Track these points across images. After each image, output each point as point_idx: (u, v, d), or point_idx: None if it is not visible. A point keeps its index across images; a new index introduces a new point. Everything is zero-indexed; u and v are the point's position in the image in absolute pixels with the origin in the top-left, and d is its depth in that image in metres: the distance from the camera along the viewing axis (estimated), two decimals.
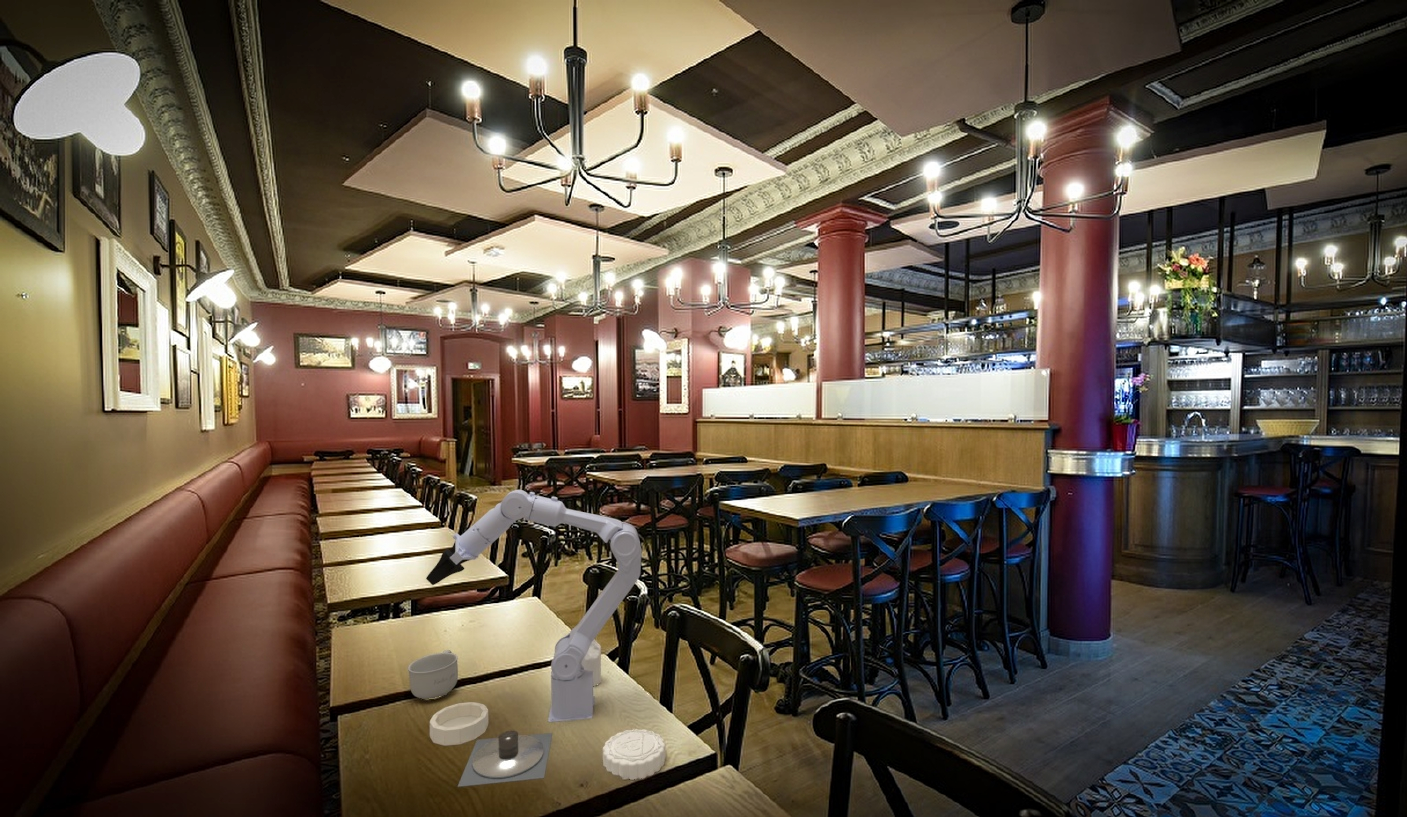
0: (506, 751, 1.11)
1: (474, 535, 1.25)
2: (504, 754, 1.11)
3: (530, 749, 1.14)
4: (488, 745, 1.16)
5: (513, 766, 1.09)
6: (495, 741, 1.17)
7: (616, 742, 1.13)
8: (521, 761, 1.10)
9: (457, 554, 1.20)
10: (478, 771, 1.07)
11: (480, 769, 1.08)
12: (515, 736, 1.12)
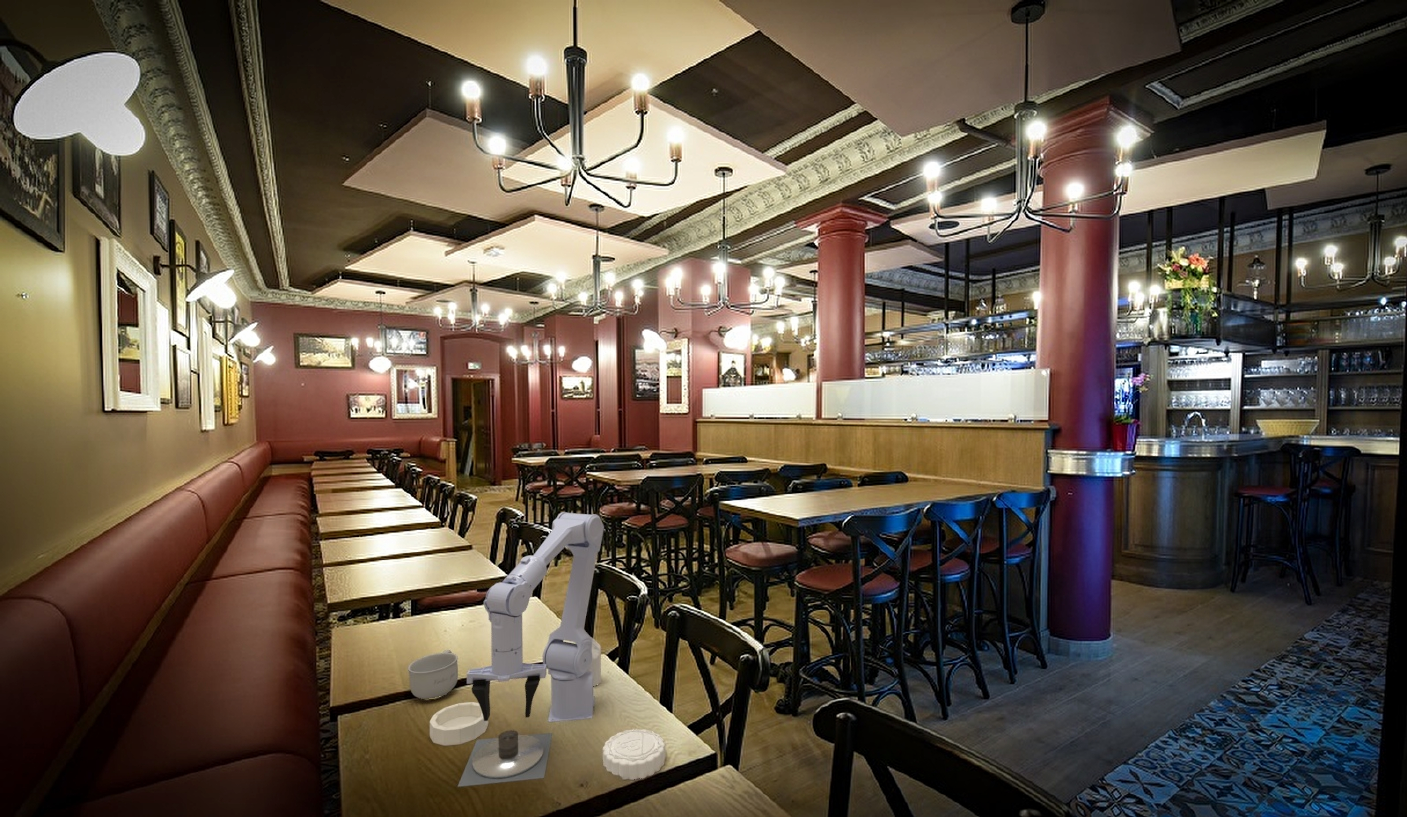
0: (506, 750, 1.11)
1: (520, 652, 1.12)
2: (504, 754, 1.11)
3: (530, 749, 1.14)
4: (488, 745, 1.16)
5: (513, 766, 1.09)
6: (495, 741, 1.17)
7: (616, 742, 1.13)
8: (521, 761, 1.10)
9: (545, 668, 1.13)
10: (478, 771, 1.07)
11: (480, 769, 1.08)
12: (515, 736, 1.12)
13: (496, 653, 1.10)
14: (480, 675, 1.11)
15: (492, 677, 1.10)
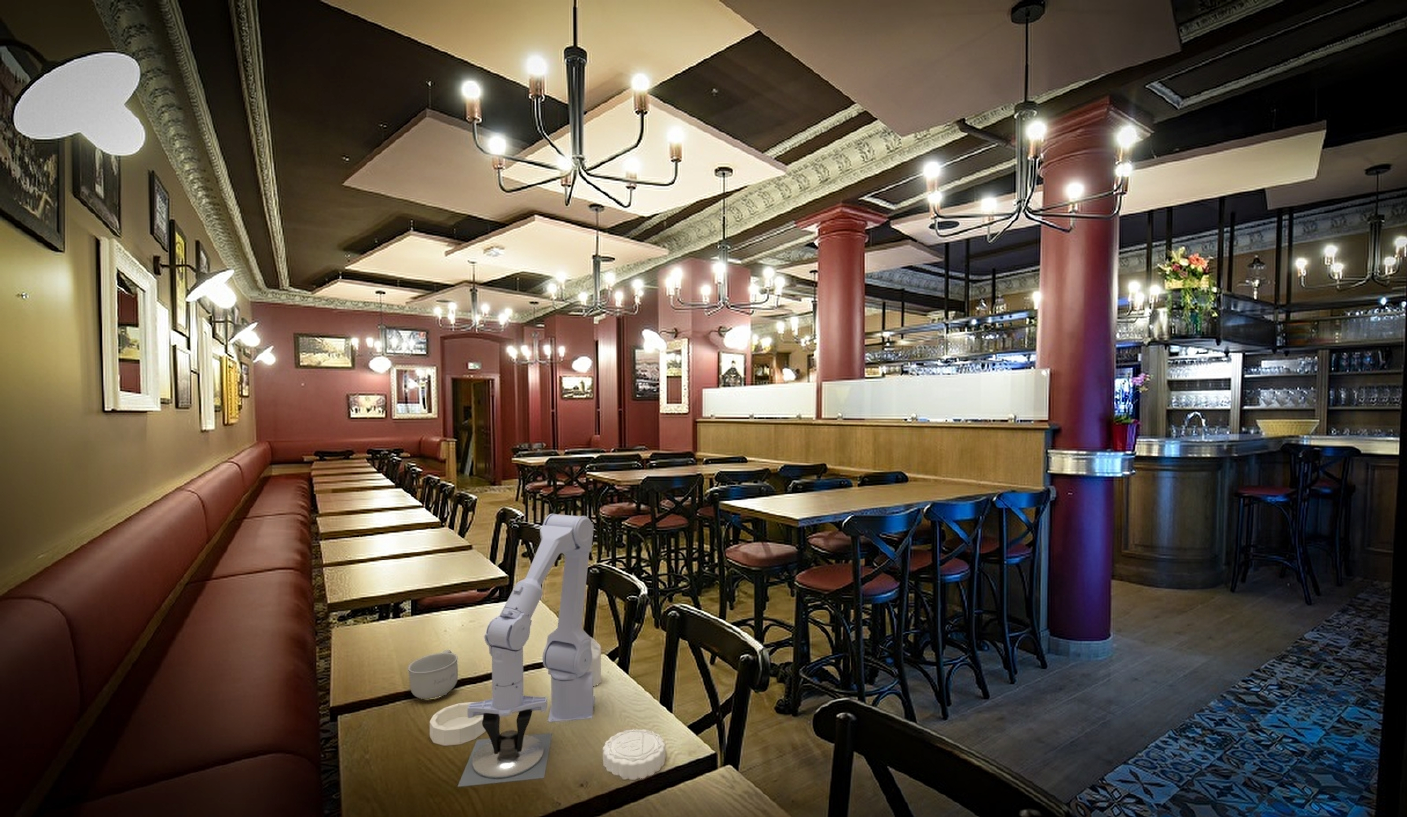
0: (506, 750, 1.11)
1: (521, 686, 1.12)
2: (504, 754, 1.11)
3: (530, 749, 1.14)
4: (488, 745, 1.16)
5: (513, 766, 1.09)
6: None
7: (616, 742, 1.13)
8: (521, 761, 1.10)
9: (546, 702, 1.13)
10: (478, 771, 1.07)
11: (480, 769, 1.08)
12: (515, 736, 1.13)
13: (497, 687, 1.10)
14: (481, 709, 1.11)
15: (493, 711, 1.10)
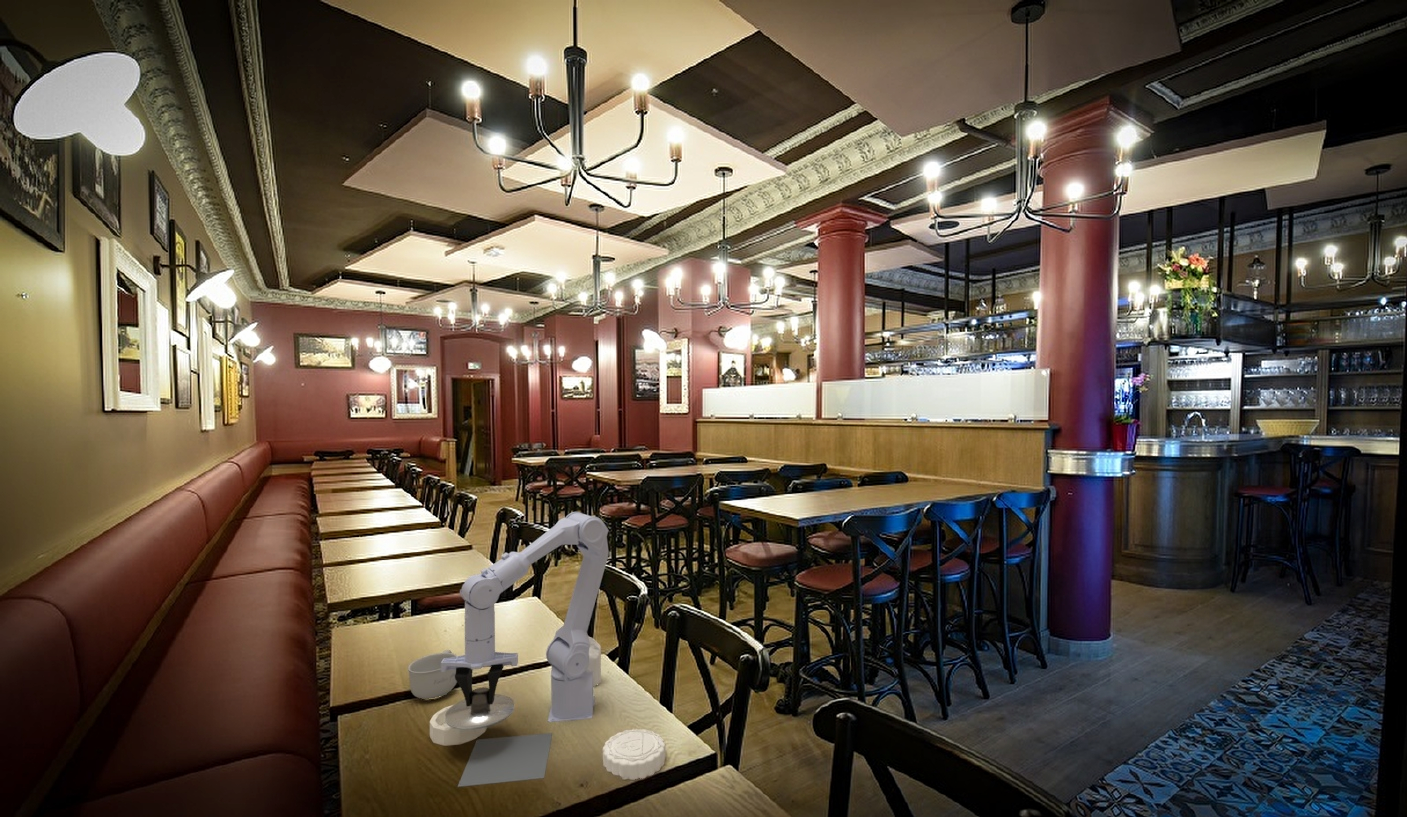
0: (479, 705, 1.16)
1: (492, 641, 1.18)
2: (476, 708, 1.16)
3: (501, 704, 1.20)
4: (460, 703, 1.20)
5: (485, 718, 1.14)
6: None
7: (616, 742, 1.13)
8: (493, 714, 1.16)
9: (516, 657, 1.19)
10: (452, 723, 1.12)
11: (453, 722, 1.13)
12: (487, 691, 1.18)
13: (469, 642, 1.16)
14: (454, 663, 1.16)
15: (465, 665, 1.15)
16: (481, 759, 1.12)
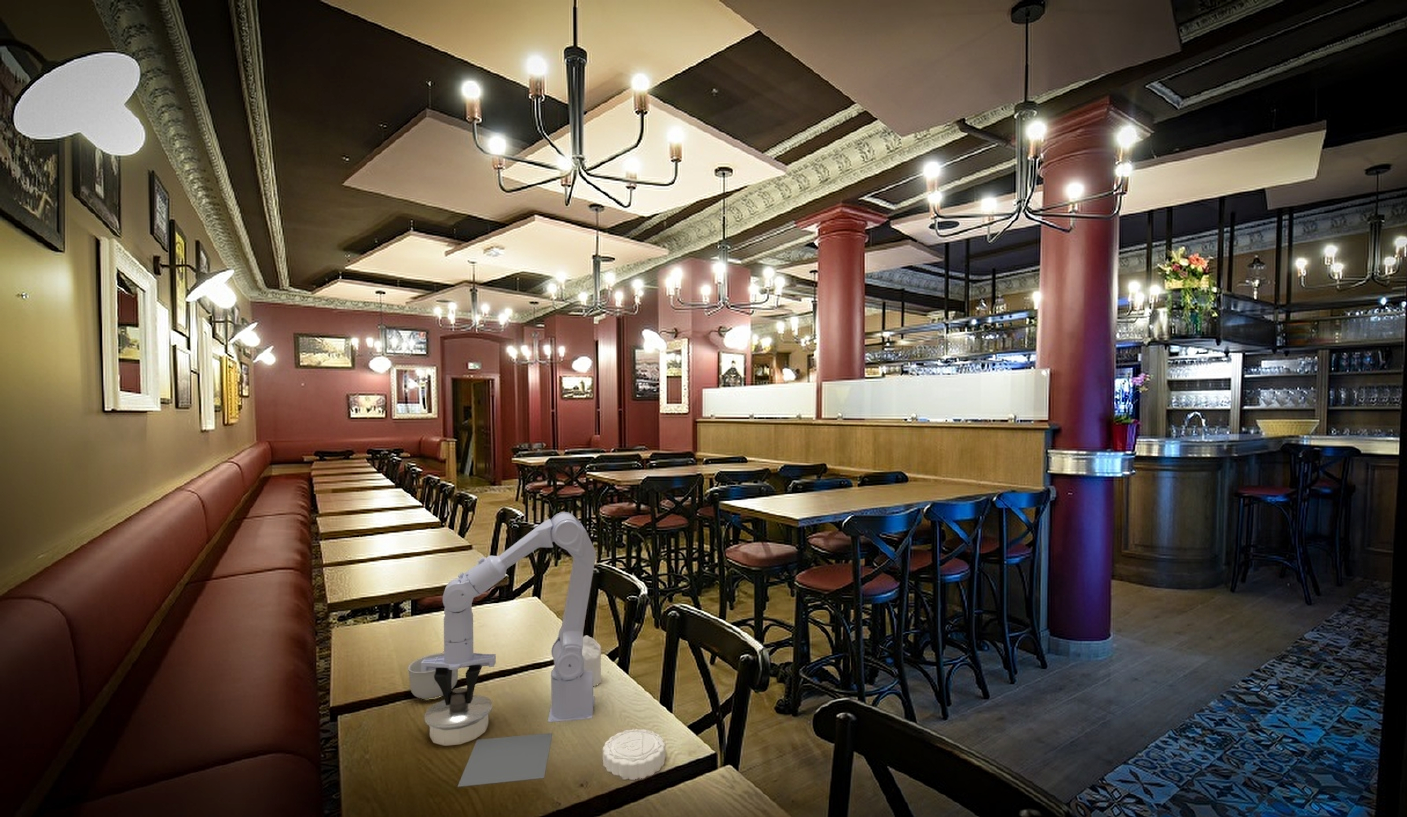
0: (457, 705, 1.21)
1: (470, 643, 1.22)
2: (455, 708, 1.21)
3: (479, 704, 1.24)
4: (439, 703, 1.25)
5: (463, 717, 1.19)
6: None
7: (616, 742, 1.13)
8: (471, 713, 1.20)
9: (494, 658, 1.24)
10: (430, 722, 1.17)
11: (432, 721, 1.17)
12: (465, 692, 1.22)
13: (448, 644, 1.20)
14: (433, 664, 1.21)
15: (444, 666, 1.20)
16: (481, 759, 1.12)
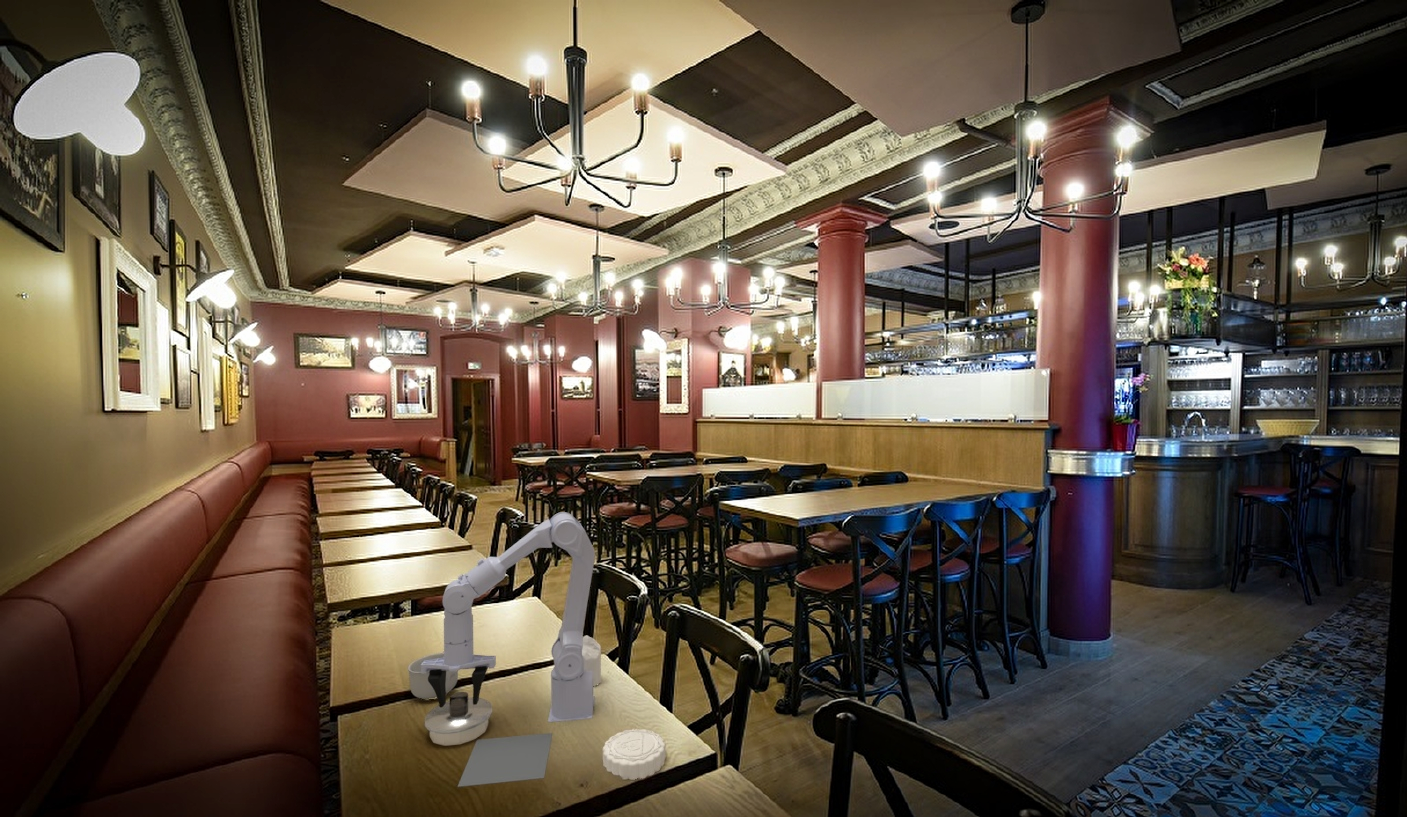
0: (457, 709, 1.21)
1: (470, 645, 1.22)
2: (455, 712, 1.21)
3: (479, 708, 1.24)
4: (439, 707, 1.25)
5: (464, 722, 1.19)
6: (445, 703, 1.26)
7: (616, 742, 1.13)
8: (471, 718, 1.20)
9: (494, 659, 1.24)
10: (431, 727, 1.17)
11: (432, 726, 1.17)
12: (465, 696, 1.22)
13: (448, 645, 1.20)
14: (433, 666, 1.21)
15: (444, 667, 1.20)
16: (481, 759, 1.12)
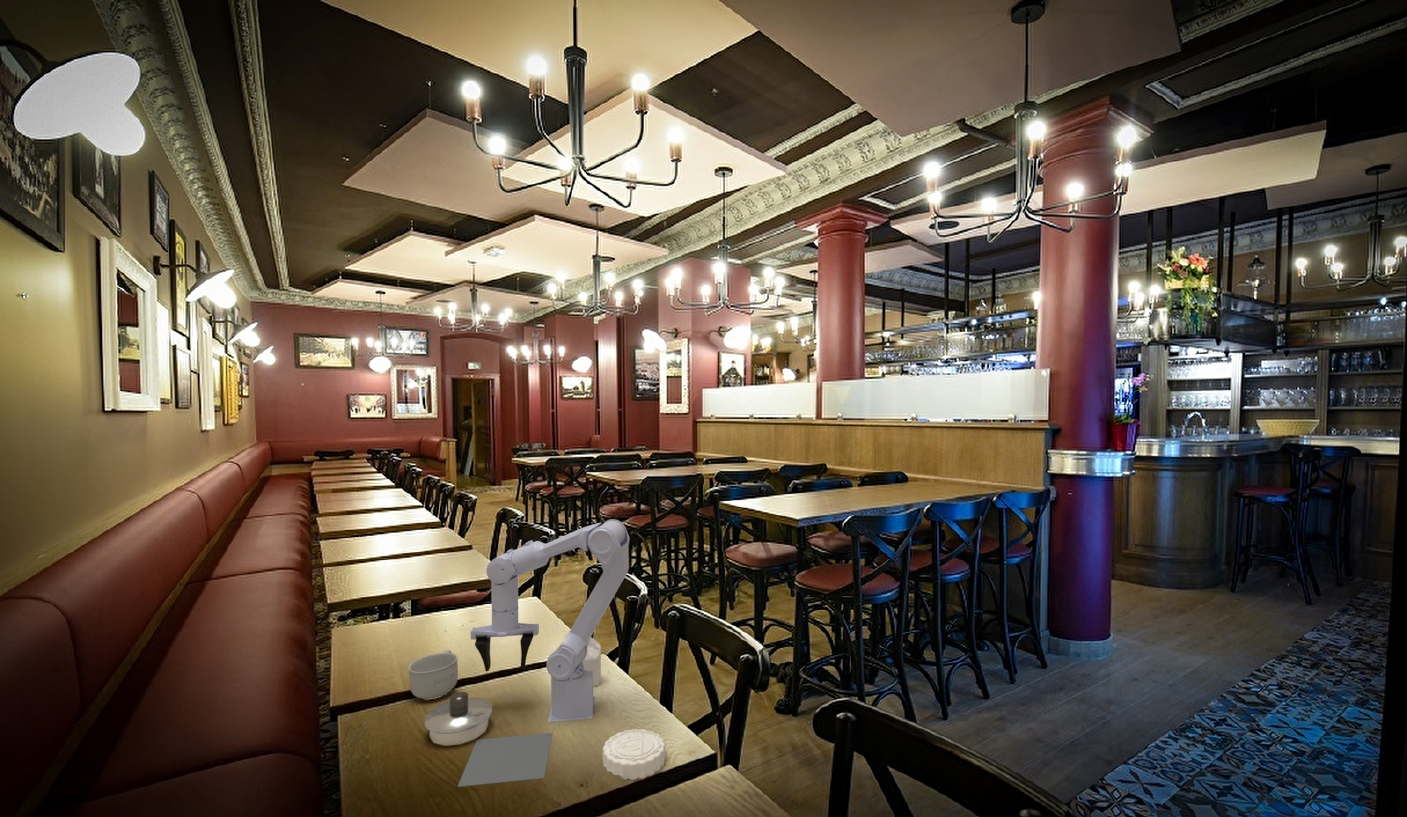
0: (457, 709, 1.21)
1: (516, 613, 1.31)
2: (455, 712, 1.21)
3: (479, 708, 1.24)
4: (439, 707, 1.25)
5: (464, 722, 1.19)
6: (445, 703, 1.26)
7: (616, 742, 1.13)
8: (471, 718, 1.20)
9: (538, 627, 1.33)
10: (431, 727, 1.17)
11: (432, 726, 1.17)
12: (465, 696, 1.22)
13: (496, 613, 1.29)
14: (482, 632, 1.30)
15: (492, 633, 1.29)
16: (481, 759, 1.12)
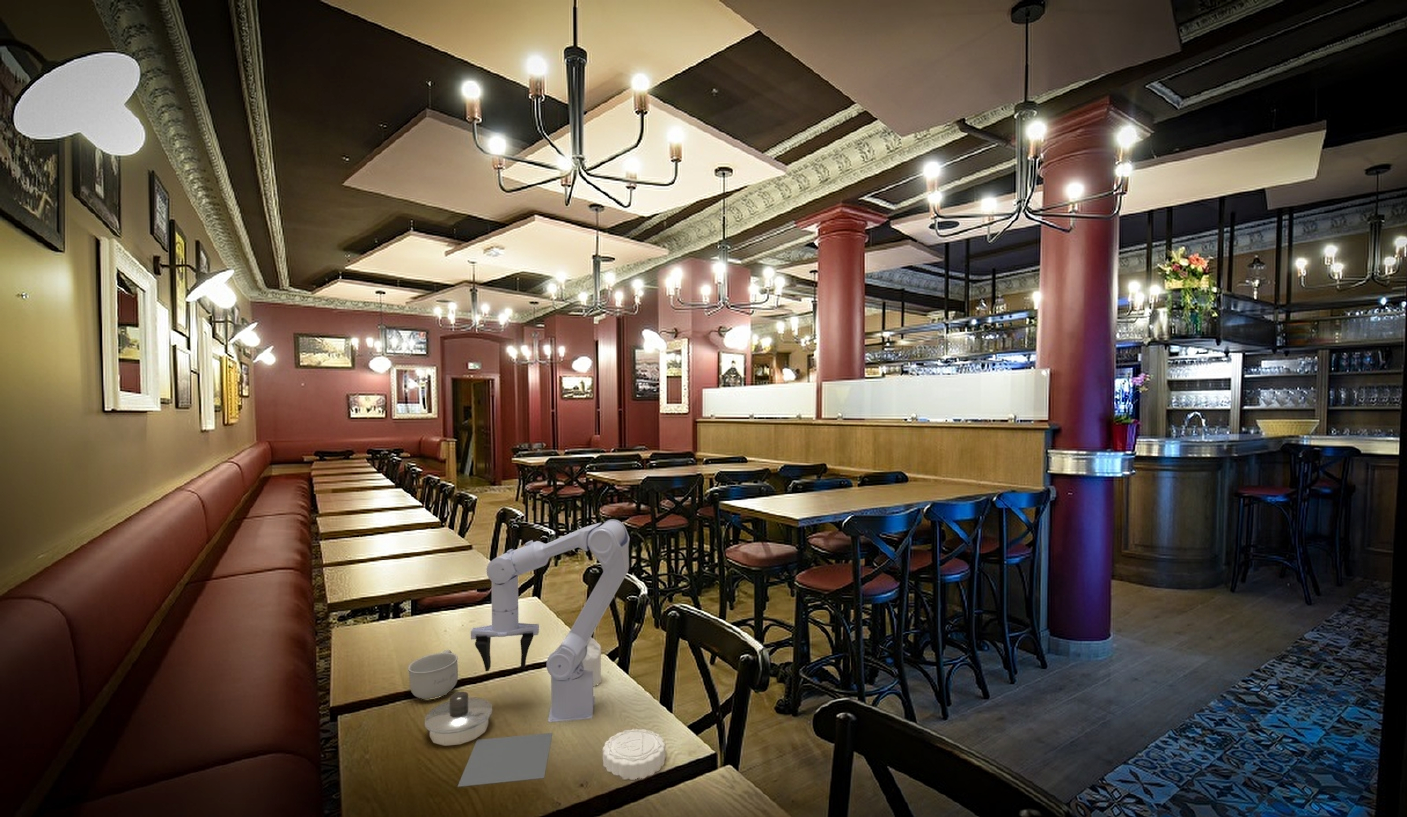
0: (457, 709, 1.21)
1: (516, 613, 1.31)
2: (455, 712, 1.21)
3: (479, 708, 1.24)
4: (439, 707, 1.25)
5: (464, 722, 1.19)
6: (445, 703, 1.26)
7: (616, 742, 1.13)
8: (471, 718, 1.20)
9: (538, 627, 1.33)
10: (431, 727, 1.17)
11: (432, 726, 1.17)
12: (465, 696, 1.22)
13: (496, 613, 1.29)
14: (482, 632, 1.30)
15: (492, 633, 1.29)
16: (481, 759, 1.12)
